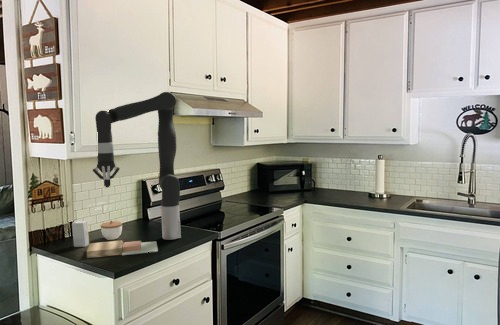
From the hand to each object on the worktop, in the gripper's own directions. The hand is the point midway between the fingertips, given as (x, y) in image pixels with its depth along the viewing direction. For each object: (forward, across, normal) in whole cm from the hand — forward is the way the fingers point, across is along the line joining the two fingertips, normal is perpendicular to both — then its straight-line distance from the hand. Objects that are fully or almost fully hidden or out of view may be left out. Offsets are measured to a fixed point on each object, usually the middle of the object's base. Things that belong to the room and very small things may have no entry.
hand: (107, 187), depth 194 cm
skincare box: (+29, +14, -3) cm, 33 cm away
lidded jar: (+29, 0, -12) cm, 32 cm away
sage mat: (+29, -14, +12) cm, 34 cm away
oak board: (+29, +2, +12) cm, 31 cm away
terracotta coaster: (+28, -11, +12) cm, 32 cm away
